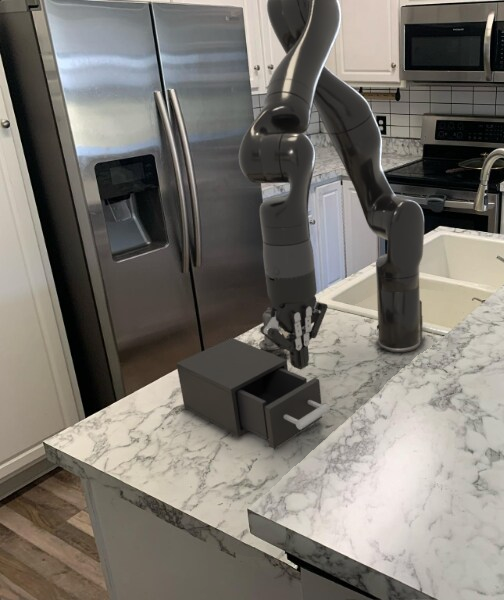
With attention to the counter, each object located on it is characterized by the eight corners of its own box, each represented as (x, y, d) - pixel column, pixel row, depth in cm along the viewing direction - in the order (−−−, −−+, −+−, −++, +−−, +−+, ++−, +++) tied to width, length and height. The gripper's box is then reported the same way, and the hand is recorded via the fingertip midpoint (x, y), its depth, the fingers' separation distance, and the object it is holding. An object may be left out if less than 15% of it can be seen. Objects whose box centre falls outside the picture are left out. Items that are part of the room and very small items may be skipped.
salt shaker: (282, 365, 129) (276, 313, 124) (256, 363, 130) (249, 311, 125) (292, 352, 134) (287, 302, 129) (266, 350, 135) (261, 300, 130)
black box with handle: (341, 426, 106) (338, 387, 103) (293, 459, 98) (288, 418, 95) (268, 392, 117) (263, 356, 114) (219, 420, 109) (213, 382, 106)
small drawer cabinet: (291, 404, 115) (286, 359, 111) (237, 437, 105) (230, 389, 102) (238, 380, 123) (232, 337, 120) (184, 408, 114) (176, 363, 111)
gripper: (303, 250, 100) (312, 345, 107) (239, 275, 90) (253, 377, 97) (337, 259, 96) (344, 356, 102) (273, 285, 86) (286, 391, 93)
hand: (300, 366), depth 100 cm, fingers closed
